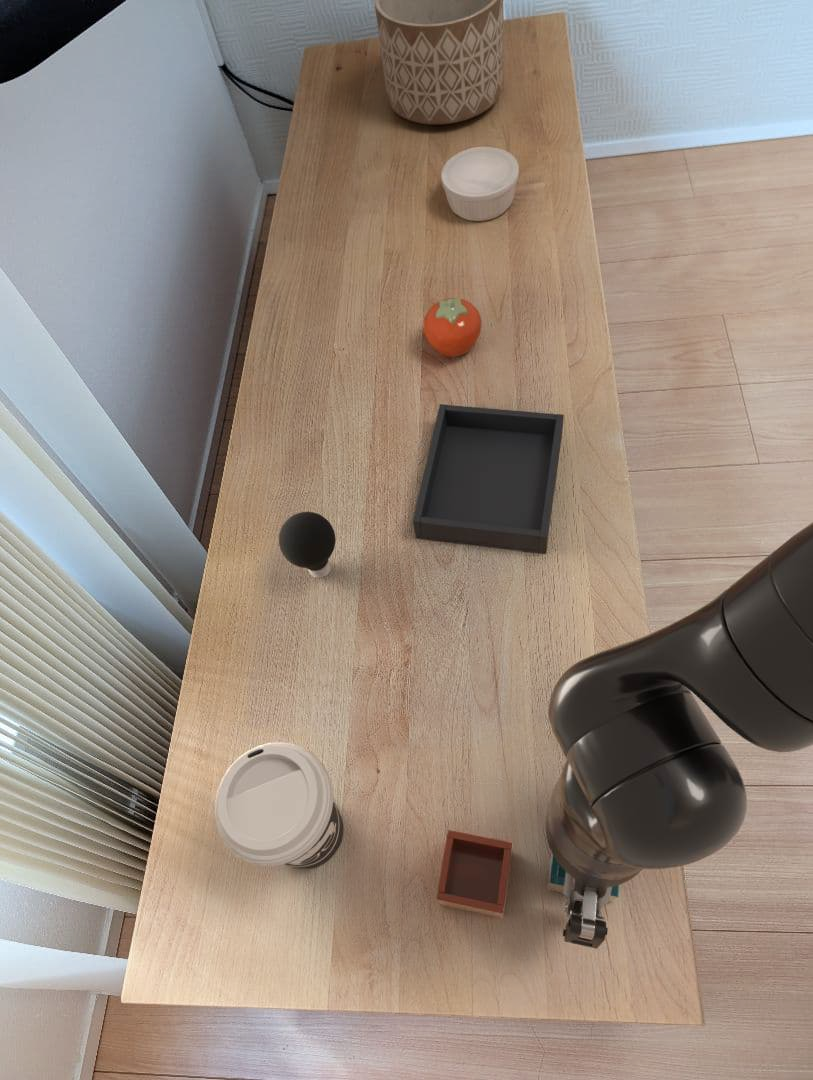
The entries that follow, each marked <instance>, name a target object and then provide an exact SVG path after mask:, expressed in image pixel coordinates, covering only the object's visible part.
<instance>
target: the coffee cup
mask: <svg viewBox="0 0 813 1080" xmlns="http://www.w3.org/2000/svg"><path fill="white" fill-rule="evenodd" d="M214 817H215V824H216V828H217V831H218V833H219V836H220V839H221V840H222V842H223V843H224V844H225V846H226V847H227V849H228V850H229V851H230V852H231V853H232V854H233V855H235V856H236V857H237V858H238V859H240V860H241V861H244V862H246V863H248V864H250V865H254V866H259V867H277V866H283V865H284V866H290V867H294V868H299V869H305V870H306V869H307V870H308V869H315V868H319V867H320V866H322V865H324V864H326V863H327V862H328V861H330V860H331V859H332V858H333V857H334V856H335V854H336V853H337V852H338V851H339V848H340V847H341V843H342V841H343V838H344V837H343V836H344V822H343V818H342V815H341V813H340V810H339V807H338V806H337V804H336V802H335V800H334V789H333V783H332V780H331V776H330V774H329V772H328V770H327V767H326V766H325V764H324V763H323V761H321V759H320V758H319V757H318V756H317V755H316V754H314V752H312V751H311V750H309V749H307V748H306V747H304V746H301V745H300V744H296V743H291V742H285V741H272V742H267V743H263V744H260V745H257V746H255V747H252V748H251V749H249V750H247V751H245V753H243V754H242V755H240V756H239V757H238V758H237V759H236V760H235V761H233V763H232V764H230V766H229V767H228V769H227V770H226V772H225V773H224V774H223V776H222V779H221V781H220V783H219V786H218V788H217V792H216V797H215V803H214Z"/></svg>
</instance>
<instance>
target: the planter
mask: <svg viewBox="0 0 813 1080" xmlns="http://www.w3.org/2000/svg"><path fill="white" fill-rule="evenodd" d="M373 3H374V10H375V17H376V24H377V25H376V26H377V33H378V39H379V46H380V54H381V63H382V70H383V77H384V84H385V85H384V86H385V93H386V99H387V102H388V104H389V106H390V108H391V109H392V110H393V112H395V113H396V114H397V115H398V116H399V117H402V118H403V119H406V120H408V121H410V122H414V123H418V124H423V125H434V126H435V125H436V126H437V125H450V124H455V123H460V122H464V121H467V120H470V119H473V118H474V117H475V118H476V117H478V116H479V115H481V114H482V113H484V112H486V111H487V110H489V109H490V108H491V107H493V105H495V103H496V102H497V101H498V100H499V99H500V97H501V95H502V94H503V90H504V86H505V85H504V84H505V83H504V82H505V81H504V80H505V73H504V72H505V71H504V69H505V67H504V57H505V56H504V53H505V52H504V48H505V47H504V46H505V45H504V42H505V41H504V0H373Z"/></svg>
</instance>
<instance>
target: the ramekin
mask: <svg viewBox="0 0 813 1080" xmlns="http://www.w3.org/2000/svg"><path fill="white" fill-rule="evenodd" d="M519 176H520V167H519V162H518V160H517V159H516V157H515V156H514V155H512V154H511V153H510V152H508V151H507V150H504V149H502V148H498V147H493V146H475V147H471V148H467V149H464V150H462V151H460V152H458V153H456V154H454V155H453V156H452V157H450V158H449V159H448V160H447V161H446V163H444V165H443V167H442V169H441V171H440V181H441V186H442V188H443V190H444V192H445V196H446V199H447V202H448V203H447V204H448V205H449V207H450V209H451V211H453V213H454V214H455V215H457V216H458V217H459V218H461V219H463V220H466V221H469V222H470V221H471V222H485V221H490V220H493V219H496V218H498V217H500V216H501V215H503V214H504V213H505V212H506V211H507V210H508V209H509V208H510V206H511V205H512V203H513V201H514V198H515V193H516V187H517V181H518V180H519Z"/></svg>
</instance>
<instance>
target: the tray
mask: <svg viewBox="0 0 813 1080" xmlns="http://www.w3.org/2000/svg"><path fill="white" fill-rule="evenodd" d="M436 414H437V415H436V419H435V423H434V427H433V432H432V435H431V441H430V444H429V445H430V446H429V448H428V454H427V458H426V461H425V467H424V469H423V473H422V474H423V475H422V480H421V483H420V486H419V487H420V488H419V491H418V497H417V499H416V503H415V504H416V505H415V509H414V513H413V519H412V525H413V531H414V535H415V538H416V539H420V540H428V541H437V542H444V543H445V542H446V543H455V544H462V545H470V546H476V547H477V546H479V547H487V548H494V549H505V550H510V551H511V550H512V551H520V552H528V553H535V554H536V553H537V554H543V555H545V554H547V550H548V544H549V543H548V542H549V535H550V527H551V520H552V512H553V506H554V505H553V504H554V499H555V498H554V497H555V490H556V483H557V475H558V467H559V460H560V453H561V446H562V445H561V444H562V438H563V429H564V420H565V419H564V418H565V414H562V413H561V414H560V413H548V412H537V411H535V412H534V411H523V410H512V409H511V410H510V409H499V408H488V407H477V406H476V407H475V406H464V405H455V404H454V405H453V404H442V403H439V405H438V410H437V413H436Z"/></svg>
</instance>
